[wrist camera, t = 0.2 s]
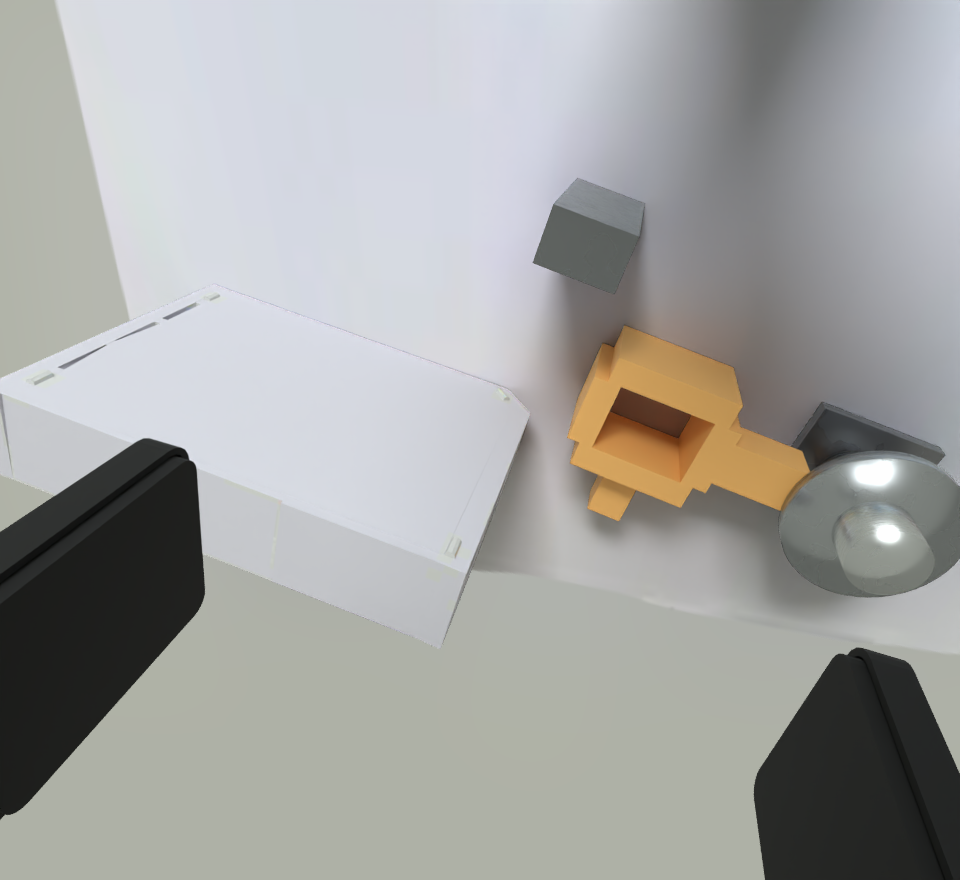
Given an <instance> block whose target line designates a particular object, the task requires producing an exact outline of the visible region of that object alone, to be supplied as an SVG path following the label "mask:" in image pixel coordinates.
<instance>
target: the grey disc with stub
mask: <svg viewBox="0 0 960 880" xmlns="http://www.w3.org/2000/svg"><path fill="white" fill-rule="evenodd" d="M791 447H793V448H795V449H798V450H801V451H802V452H803V454H804V457H805V460H806V462H807V465H808V468H809V470H810V472H809V473H808V474H807V475H805V476H804V477H803V478H802V479H801V480H800V481H799V482H797V483H796V485H795V486H794V487H793V488H792V489H791V491H790V492H789V494H788V495H787V497H786V498H785V500H784V503H783V505H782V507H781V511H780V515H779V524H778V526H779V535H780V539H781V542H782V546H783V550H784V552H785V555H786V557H787V559H788V560H789V562H790V563H791V565H792V566H793V567H794V568H795V569H796V571H797V572H798V573H799V574H801V575H802V576H803V577H804V578H805V579H807V580H808V581H810V582H812V583H813V584H815V585H817V586H819V587H821V588H823V589H826V590H828V591H831V592H834V593H838V594H843V595H847V596H855V597H883V596H891V595H896V594H901V593H905V592H908V591H911V590H914V589H917V588H919V587H922V586H924V585H926V584H928V583H930V582H932V581H934V580H935V579H937V578H939V577H940V576H941V575H943V574H944V573H946V572H947V571H948V570H949V569H950V568H951V567H952V566H954V565H955V563H956V562H957V561H958V560H959V559H960V487H959V486H958V484H957V483H956V482H955V481H954V479H953V478H952V477H951V476H950V475H949V474H948V473H947V472H945V471H944V470H943V469H942V468H940V467H939V466H937V464H938V463H939V462H940V461H941V460H942V458H943V457H944V456H945V453H944V452H943V451H942V450H941V448H940V447H938V446H935V445H932V444H930V443H927V442H925V441H922V440H920V439H917V438H914V437H912V436H909V435H907V434H904V433H901V432H899V431H896V430H894V429H891V428H889V427H886V426H883V425H881V424H878V423H876V422H873V421H871V420H868V419H865V418H863V417H860V416H858V415H855V414H852V413H850V412H847V411H845V410H842V409H840V408H837V407H834V406H832V405H829V404H827V403H824V402H822V403H821V404H820V406H819V407H818V409H817V410H816V411H815V413H814V414H813V416H812V417H811V419H810V420H809V422H808V423H807V424H806V426H805V427H804V429H803V430H802V432H801V433H800V435H799V436H798V438H797V439H796V440H795V442H794V443H793V445H792V446H791Z"/></svg>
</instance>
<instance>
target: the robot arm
mask: <svg viewBox="0 0 960 880" xmlns="http://www.w3.org/2000/svg"><path fill="white" fill-rule="evenodd" d="M204 585H205V584H204V569H203V554H202V539H201V525H200V510H199V495H198V480H197V469H196V465H195V463H194V462H193V461H191V460H189V455H188V453H187V452H186V450H185V449H183V448H181V447H178V446H174V445H171V444H168V443H164V442H161V441H157V440H154V439H151V438H143V439H141V440H139V441H137V442H135V443H134V444H132V445H131V446H129V447H128V448H126V449H125V450H123V451H122V452H120V453H119V454H117V455H116V456H114V457H113V458H111V459H110V460H108V461H107V462H105V463H104V464H102V465H101V466H99V467H98V468H96V469H94V470H93V471H91V472H90V473H88V474H87V475H85V476H84V477H82V478H81V479H79V480H78V481H76V482H75V483H73V484H72V485H70V486H69V487H67V488H66V489H64V490H63V491H61V492H60V493H58V494H57V495H55V496H54V497H52V498H51V499H49V500H48V501H46V502H45V503H43V504H42V505H40V506H39V507H37V508H36V509H34V510H33V511H31V512H30V513H28V514H27V515H25V516H24V517H22V518H21V519H19V520H18V521H17V522H15V523H13V524H12V525H10V526H9V527H8V528H6V529H4V530H3V531H1V532H0V819H1V818H2V817H3V816H4V815H5V814H6V815H11V814H13V813H16V812H17V811H19V810H20V809H21V808H23V807H24V806H25V805H26V804H27V803H28V802H29V801H30V800H31V799H32V797H33V796H34V795H35V794H36V793H37V792H38V791H39V790H40V789H41V787H42V786H43V785H44V784H45V783H46V782H47V781H48V780H49V778H50V777H51V776H52V775H53V774H54V773H55V771H57V769H58V768H59V767H60V766H61V765H62V764H63V763H64V762H65V760H66V759H67V758H68V757H69V756H70V755H71V754H72V753H73V752H74V750H75V749H76V748H77V747H78V746H79V745H80V744H81V743H82V741H83V740H84V739H85V738H86V737H87V736H88V735H89V733H90V732H91V731H92V730H93V729H94V728H95V727H96V726H97V725H98V723H99V722H100V721H101V720H102V719H103V718H104V717H105V716H106V714H107V713H108V712H109V711H110V710H111V709H112V708H113V707H114V705H115V704H116V703H117V702H118V701H119V700H120V699H121V698H122V696H123V695H124V694H125V693H126V692H127V691H128V689H130V688H131V686H132V685H133V684H134V683H135V682H136V681H137V680H138V678H139V677H140V676H141V675H142V674H143V673H144V672H145V671H146V669H147V668H148V667H149V666H150V665H151V664H152V663H153V662H154V661H155V659H156V658H157V657H158V656H159V655H160V654H161V653H162V652H163V650H164V649H165V648H166V647H167V646H168V645H169V644H170V642H171V641H172V640H173V639H174V638H175V637H176V636H177V635H178V633H179V632H180V631H181V630H182V629H183V628H184V626H186V625H187V623H188V622H189V621H190V620H191V619H192V618H193V617H194V616H195V614H196V613H197V612H198V610H199V608H200V606H201V604H202V602H203V599H204V595H205V586H204ZM754 801H755V809H756V816H757V824H758V831H759V838H760V846H761V853H762V860H763V867H764V875H765V880H960V773H959V771H958V769H957V767H956V764H955V762H954V760H953V758H952V755H951V753H950V751H949V749H948V746H947V744H946V742H945V740H944V737H943V735H942V733H941V731H940V728H939V726H938V724H937V722H936V719H935V717H934V715H933V713H932V711H931V708H930V706H929V704H928V701H927V699H926V697H925V695H924V692H923V690H922V688H921V686H920V684H919V681H918V679H917V677H916V674H915V672H914V670H913V669H912V667H911V666H910V665H909V663H907V662H906V661H904V660H901V659H898V658H894V657H891V656H887V655H884V654H880V653H877V652H874V651H870V650H867V649H863V648H855V649H853V650H851V651H850V652H849V654H848V655H844V654H838V655H836V656H835V657H834V658H833V659H832V660H831V662H830V663H829V665H828V666H827V668H826V669H825V671H824V672H823V674H822V675H821V677H820V678H819V680H818V681H817V683H816V684H815V686H814V687H813V689H812V690H811V692H810V694H809V695H808V697H807V698H806V700H805V701H804V703H803V704H802V706H801V707H800V709H799V710H798V712H797V713H796V715H795V716H794V718H793V719H792V721H791V722H790V724H789V725H788V727H787V728H786V730H785V731H784V733H783V735H782V736H781V737H780V739H779V740H778V742H777V744H776V745H775V747H774V748H773V750H772V751H771V753H770V754H769V756H768V757H767V759H766V760H765V762H764V763H763V765H762V766H761V768H760V769H759V771H758V773H757V776H756V780H755V785H754Z"/></svg>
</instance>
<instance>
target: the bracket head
mask: <svg viewBox="0 0 960 880" xmlns="http://www.w3.org/2000/svg"><path fill="white" fill-rule="evenodd" d="M621 387H622V388H624V389H627V390H629V391H632V392H635V393H637V394H640V395H642V396H645V397H647V398H650V399H652V400H655V401H657V402H660V403H663V404H665V405H668V406H670V407H673V408H675V409H678V410H680V411H683V412H685V413H688V414H690V415H691V417H690V419H689V420H688V422H687V424H686V426H685V428H684V429H683V431H682V433H681V435H680V436H679V438H675V437H673V436H670V435H668V434H665V433H663V432H660V431H658V430H655V429H653V428H650V427H648V426H645V425H643V424H640V423H637V422H635V421H632V420H630V419H627V418H625V417H622V416H620V415H617V414H615V413H612V412H610V409H611V407H612V405H613V403H614V401H615V399H616V397H617V395H618V392H619V390H620V388H621ZM742 407H743V403H742V399H741V395H740V391H739V387H738V383H737V379H736V375H735V372H734V368H733V367H731V366H729V365H726V364H723V363H721V362H718V361H716V360H713V359H711V358H708V357H705V356H703V355H700V354H698V353H695V352H692V351H690V350H687V349H685V348H682V347H680V346H677V345H674V344H672V343H669V342H667V341H664V340H662V339H659V338H656V337H654V336H651V335H649V334H646V333H643V332H641V331H638V330H636V329H633V328H631V327H628V326H625V325H624V327H623V329H622V331H621V334H620V336H619V338H618V340H617V342H616V344H615V347H612V346H610V345H607V344H604V343H602V345H601V347H600V350H599V352H598V354H597V356H596V359H595V361H594V363H593V365H592V368H591V370H590V372H589V374H588V377H587V379H586V381H585V383H584V386H583V388H582V390H581V392H580V395H579V397H578V399H577V403H576V407H575V410H574V414H573V418H572V421H571V425H570V429H569V433H568V436H567V438H569V439H572V440H574V441H575V444H574V448H573V452H572V456H571V461H570V464H573V465H575V466H578V467H580V468H583V469H585V470H588V471H590V472H593V473H595V474H598V476H597V478H596V480H595V482H594V484H593V486H592V488H591V490H590V496H589V501H588V507H587V509H590V510H592V511H595V512H597V513H600V514H602V515H604V516H607V517H609V518H612V519H614V520H617V521H619V520H620V519H621V517H622V515H623V513H624V511H625V510H626V508H627V506H628V504H629V502H630V500H631V499H632V497H633V495H634V493H635V491H636V490H637V491H640V492H642V493H645V494H647V495H650V496H652V497H655V498H657V499H660V500H662V501H665V502H667V503H670V504H672V505H675V506H677V507H680V508H681V506H682V505H683V503H684V502H685V500H686V498H687V497H688V495H689V493H690V492H691V490H692V489H693V488H694V489H696V490H699V491H701V492H704V493H706V491H707V490H708V488H709V487H710V485H711V484H714V485H717V486H719V487H722V488H724V489H727V490H729V491H732V492H734V493H737V494H739V495H742V496H744V497H747V498H749V499H752V500H754V501H757V502H759V503H762V504H764V505H767V506H769V507H772V508H774V509H777V510H779V511H781V507H782V505H783V503H784V500H785V498H786V497H787V495H788V494H789V492H790V491H791V489H792V488H793V487H794V486H795V485H796V483H797V482H799V481H800V480H801V479H802V478H803V477H804V476H805V475H807V474H808V473H809V472H810V470H809V468H808V465H807V462H806V460H805V457H804V454H803V452H802V451H801V450H798V449H795V448H793V447H790V446H788V445H785V444H783V443H780V442H778V441H775V440H773V439H770V438H767V437H765V436H762V435H760V434H757V433H755V432H752V431H750V430H747V429H745V428H742V427H740V423H739V419H738V414H739V412H740V410H741V409H742Z"/></svg>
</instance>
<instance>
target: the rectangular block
mask: <svg viewBox="0 0 960 880" xmlns="http://www.w3.org/2000/svg"><path fill="white" fill-rule="evenodd" d="M644 205H645V203H642V202H640V201H637V200H634V199H632V198H629V197H626V196H624V195H621V194H618V193H616V192H613V191H610V190H608V189H605V188H602V187H600V186H597V185H594V184H592V183H589V182H586V181H584V180H581V179H578V178H577V179H576V180H575V181H574V182H573V183H572V184H571V186H570V187H569V188H568V189H567V190H566V191H565V192H564V193H563V194H562V195H561V196H560V198H559V199H558V200H557V201H556V202H555V203H554V204H553V207H552V210H551V213H550V215H549V218H548V221H547V224H546V227H545V230H544V232H543V235H542V238H541V241H540V244H539V247H538V249H537V252H536V255H535V258H534V261H533V263H534V264H537V265H539V266H542V267H545V268H547V269H550V270H552V271H555V272H557V273H560V274H563V275H565V276H568V277H570V278H573V279H576V280H578V281H581V282H583V283H586V284H589V285H591V286H594V287H596V288H599V289H602V290H604V291H607V292H609V293H612V294H615V292H616V289H617V287H618V285H619V282H620V280H621V278H622V276H623V273H624V271H625V269H626V266H627V264H628V262H629V260H630V257H631V255H632V253H633V250H634V248H635V246H636V244H637V241H638V239H639V237H640V230H641V224H642V218H643V211H644Z"/></svg>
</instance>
